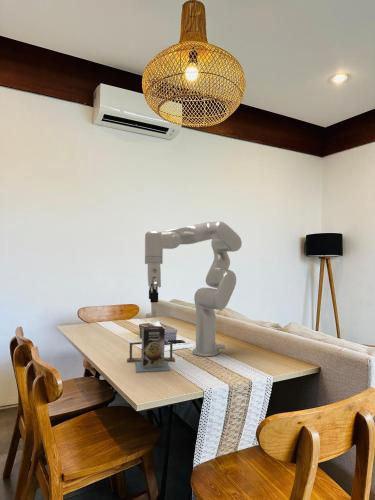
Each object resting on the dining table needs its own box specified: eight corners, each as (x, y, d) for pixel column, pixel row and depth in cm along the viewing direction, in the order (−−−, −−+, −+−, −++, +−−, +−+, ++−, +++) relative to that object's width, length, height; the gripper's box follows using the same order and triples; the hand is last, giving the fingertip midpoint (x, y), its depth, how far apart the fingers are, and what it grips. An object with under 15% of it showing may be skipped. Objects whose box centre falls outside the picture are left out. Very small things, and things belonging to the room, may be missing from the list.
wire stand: (174, 359, 157) (174, 341, 157) (174, 362, 153) (174, 343, 153) (127, 360, 155) (127, 341, 155) (126, 363, 151) (127, 344, 151)
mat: (167, 361, 153) (167, 360, 153) (170, 370, 142) (170, 369, 142) (135, 363, 151) (135, 361, 151) (136, 372, 139) (136, 371, 139)
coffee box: (142, 368, 142) (143, 329, 142) (141, 363, 149) (141, 326, 149) (164, 367, 145) (165, 328, 145) (161, 362, 151) (162, 325, 151)
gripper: (164, 261, 139) (164, 303, 139) (160, 259, 156) (160, 297, 156) (146, 261, 137) (145, 304, 137) (143, 259, 154) (143, 298, 154)
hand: (153, 300), depth 146 cm, fingers open, 9 cm apart
